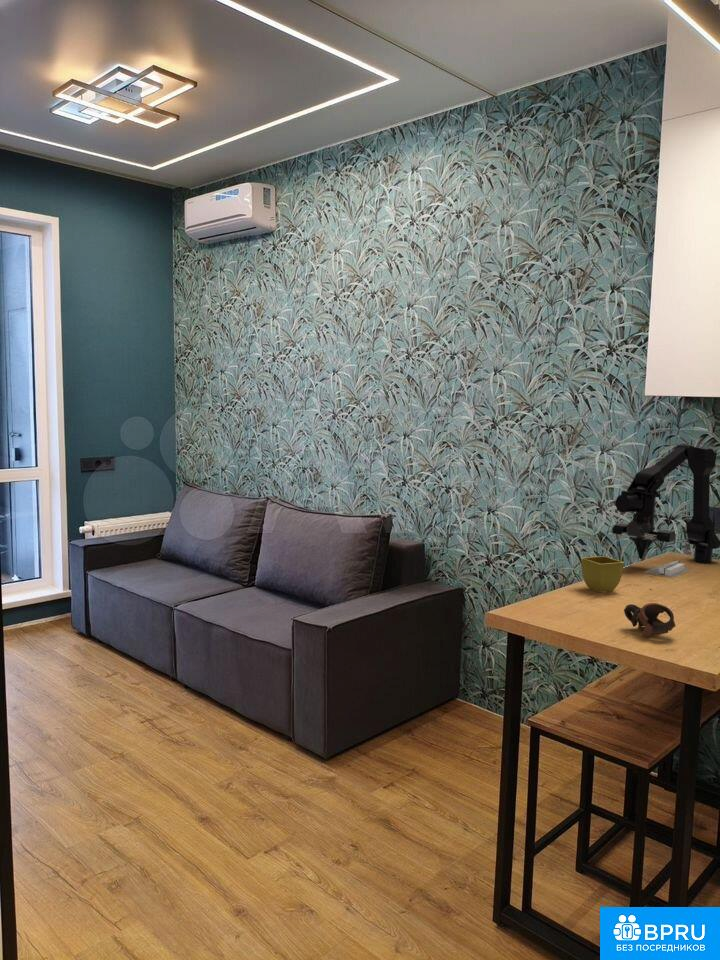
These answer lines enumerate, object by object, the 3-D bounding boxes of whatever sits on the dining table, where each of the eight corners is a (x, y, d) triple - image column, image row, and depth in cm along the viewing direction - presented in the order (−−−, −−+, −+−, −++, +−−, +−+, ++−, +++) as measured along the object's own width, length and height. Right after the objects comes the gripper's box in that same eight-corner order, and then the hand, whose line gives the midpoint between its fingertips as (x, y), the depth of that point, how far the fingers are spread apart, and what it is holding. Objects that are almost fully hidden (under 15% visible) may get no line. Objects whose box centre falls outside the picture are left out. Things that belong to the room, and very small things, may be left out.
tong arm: (674, 566, 244) (675, 560, 244) (680, 567, 243) (680, 561, 243) (658, 573, 234) (658, 566, 234) (664, 574, 233) (664, 567, 233)
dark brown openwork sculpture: (675, 632, 181) (683, 609, 176) (662, 658, 175) (669, 634, 170) (626, 611, 187) (633, 588, 182) (612, 635, 181) (618, 612, 176)
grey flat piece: (663, 567, 248) (664, 558, 248) (691, 572, 242) (691, 563, 241) (643, 575, 236) (644, 565, 236) (672, 580, 230) (672, 571, 230)
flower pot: (578, 587, 219) (580, 557, 218) (601, 585, 222) (604, 555, 221) (598, 595, 211) (600, 564, 210) (622, 592, 214) (625, 562, 213)
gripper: (606, 509, 240) (602, 557, 242) (664, 517, 227) (660, 568, 229) (621, 506, 248) (617, 552, 250) (678, 514, 235) (674, 562, 237)
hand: (641, 558), depth 241 cm, fingers closed
